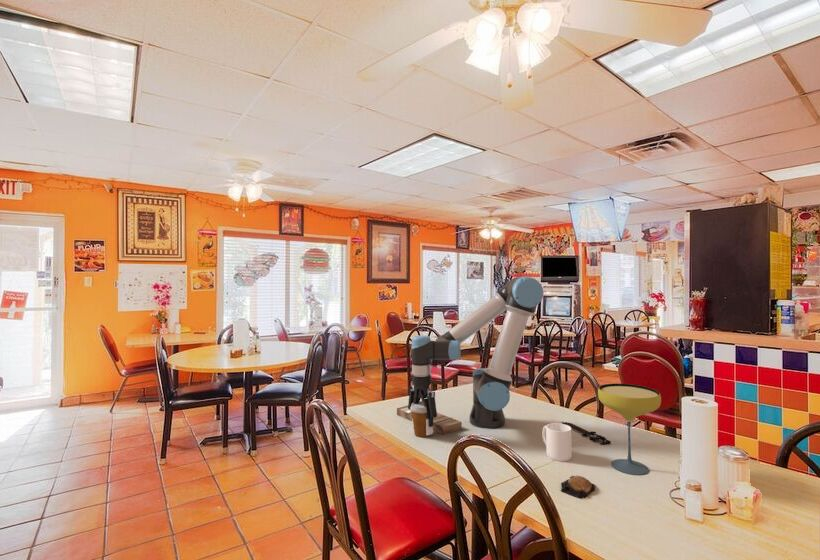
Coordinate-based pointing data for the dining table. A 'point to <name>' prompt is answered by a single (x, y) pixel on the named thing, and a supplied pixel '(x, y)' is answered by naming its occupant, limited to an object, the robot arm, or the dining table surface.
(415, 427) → the disposable coffee cup
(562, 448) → the cup
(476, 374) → the robot arm
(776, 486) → the dining table surface
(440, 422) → the walnut board
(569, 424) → the knife
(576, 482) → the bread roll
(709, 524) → the dining table surface
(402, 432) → the dining table surface
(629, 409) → the cocktail glass
